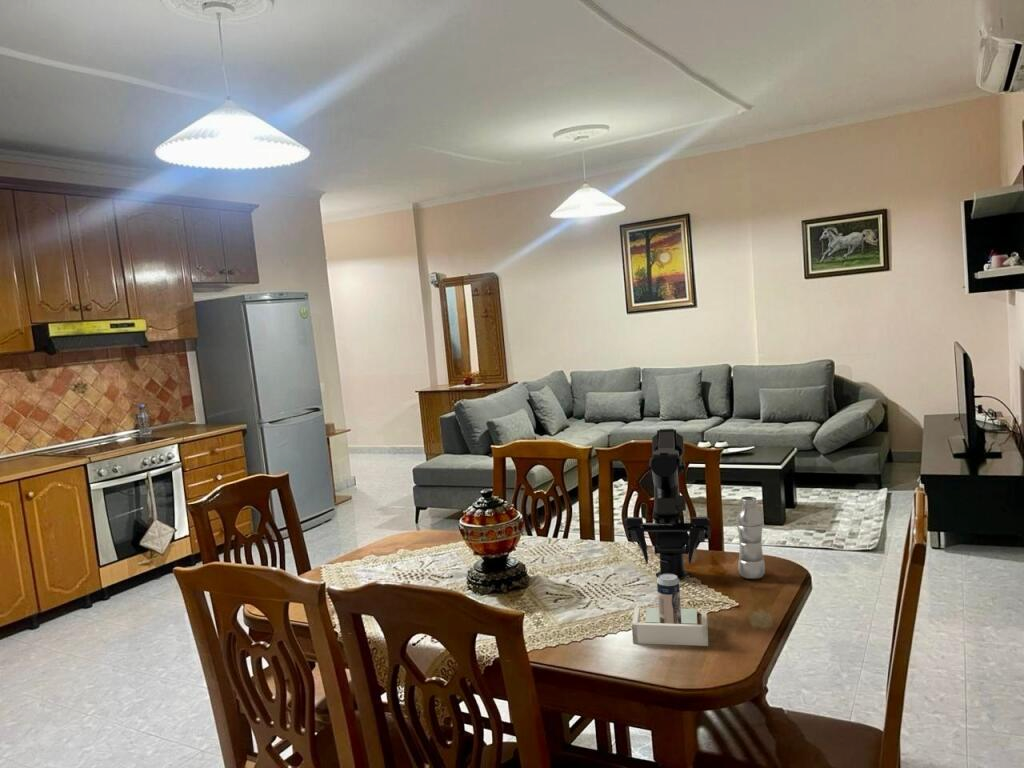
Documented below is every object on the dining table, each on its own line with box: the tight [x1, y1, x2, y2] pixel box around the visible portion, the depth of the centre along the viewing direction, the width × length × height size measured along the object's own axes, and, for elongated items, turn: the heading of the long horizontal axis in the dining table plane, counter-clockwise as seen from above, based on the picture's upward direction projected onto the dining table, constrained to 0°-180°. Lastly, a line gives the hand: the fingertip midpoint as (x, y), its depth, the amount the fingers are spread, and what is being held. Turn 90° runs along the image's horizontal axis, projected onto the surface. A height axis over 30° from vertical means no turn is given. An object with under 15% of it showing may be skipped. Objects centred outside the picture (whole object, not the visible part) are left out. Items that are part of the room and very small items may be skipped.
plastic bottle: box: [735, 495, 766, 580], centre depth 181 cm, size 6×7×20 cm
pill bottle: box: [656, 574, 682, 624], centre depth 154 cm, size 5×5×12 cm
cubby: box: [631, 606, 709, 647], centre depth 153 cm, size 9×15×4 cm, turn 77°
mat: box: [644, 607, 698, 624], centre depth 162 cm, size 8×11×1 cm
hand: (668, 562), depth 160 cm, fingers open, 9 cm apart
